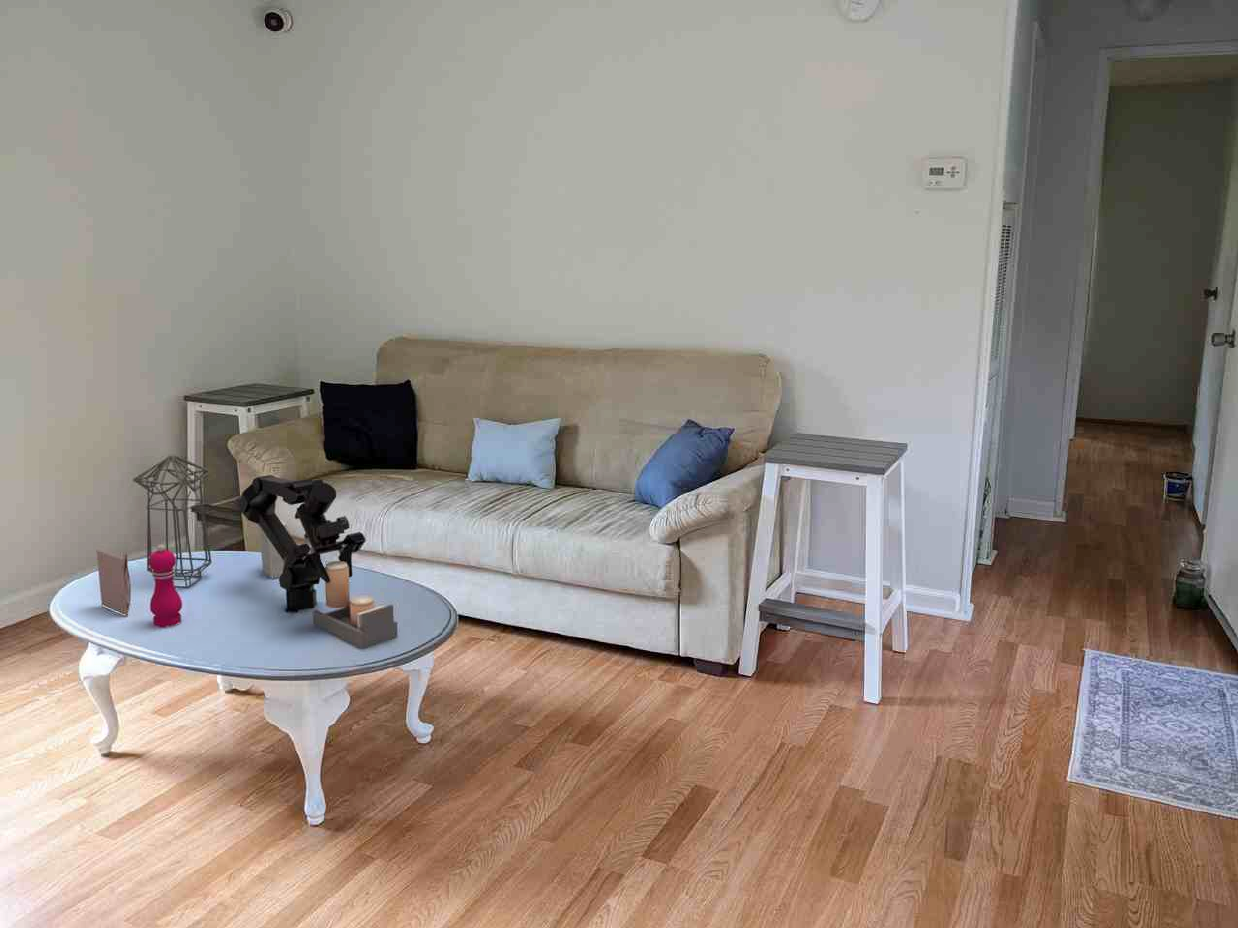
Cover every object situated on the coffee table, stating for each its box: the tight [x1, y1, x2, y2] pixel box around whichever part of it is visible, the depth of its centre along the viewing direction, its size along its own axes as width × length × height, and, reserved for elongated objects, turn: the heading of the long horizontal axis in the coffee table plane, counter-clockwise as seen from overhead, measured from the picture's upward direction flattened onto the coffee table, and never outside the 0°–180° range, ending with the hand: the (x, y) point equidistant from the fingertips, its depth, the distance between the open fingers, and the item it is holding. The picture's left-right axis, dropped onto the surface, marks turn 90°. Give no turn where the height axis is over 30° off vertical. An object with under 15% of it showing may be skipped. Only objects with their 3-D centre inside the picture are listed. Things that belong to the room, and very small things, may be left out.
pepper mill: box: [149, 544, 183, 628], centre depth 257 cm, size 7×7×20 cm
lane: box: [312, 600, 398, 650], centre depth 254 cm, size 20×10×9 cm, turn 49°
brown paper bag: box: [96, 545, 132, 617], centre depth 265 cm, size 11×7×15 cm, turn 21°
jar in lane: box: [350, 595, 376, 629], centre depth 252 cm, size 6×6×9 cm
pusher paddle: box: [357, 605, 385, 631], centre depth 249 cm, size 2×7×7 cm, turn 139°
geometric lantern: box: [132, 454, 214, 589], centre depth 283 cm, size 16×16×35 cm
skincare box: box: [258, 518, 288, 580], centre depth 293 cm, size 8×6×15 cm
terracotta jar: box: [324, 560, 351, 609], centre depth 255 cm, size 6×6×10 cm
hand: (340, 579), depth 253 cm, fingers closed on terracotta jar, 6 cm apart
